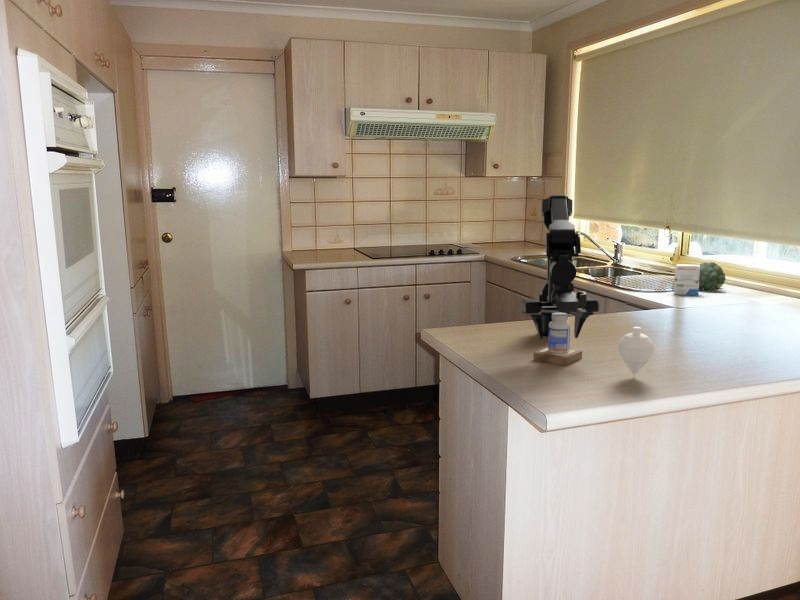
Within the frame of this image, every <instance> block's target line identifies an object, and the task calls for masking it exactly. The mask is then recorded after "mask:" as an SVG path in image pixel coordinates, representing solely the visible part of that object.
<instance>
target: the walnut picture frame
mask: <svg viewBox="0 0 800 600" xmlns="http://www.w3.org/2000/svg"><path fill="white" fill-rule="evenodd" d="M533 359H534V360H533ZM533 359H532V360H533V361H537V360H539V361H538V362H542V361H544V362H543V363H547V362H548V364H552V363H553V364H552V365H558V366H564V367H567V366H569V365H571V364H573V363H575V362H577V361H579V360H581V359H583V350H580V349H575V348H569V351H568V352H566V353H553V352H550V351H549V350H548V345H547V346H546V347H543V348H540V349H538V350H535V351H533Z"/></svg>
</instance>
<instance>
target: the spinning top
mask: <svg viewBox="0 0 800 600" xmlns="http://www.w3.org/2000/svg"><path fill="white" fill-rule="evenodd" d="M617 347H618V353H619V355H620V357H621V358H622V361H623V362H624V363H625V365H626V368H628V369H629V371H630V372H631V373H632V375H633V379H635V378H636V374H638V373H639V372H640V371H641V370H642V369H643V368H644V367H645V366H646V364H647V363H648V362H649V361H650V359H651V358H652V356H653V354H654V350H655V348H654V347H655V345H654V343H653V341H652V339H651V338H650V337H649V336H648V335H646V334H644V333H643V332H642V327H640V326H633V327H632V332H628V333H626V334H625V335H624V336H622V338H621V339H620V340H619V342H618V346H617Z"/></svg>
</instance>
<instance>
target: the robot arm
mask: <svg viewBox="0 0 800 600" xmlns="http://www.w3.org/2000/svg"><path fill="white" fill-rule="evenodd" d="M572 214H573V200H572V199H571V198H569V195H567V194H552V195H548V197H547V198H545V199H542V200H541V204H540V217H542V218H543V219H542V221H543V223H544V226H545V227H546V229H547V230H548V231H547V232H546V233H545V257H546V258H547V263H546V264H547V265H546V280H545V282H544V283H543V284H542V286H541V288H540V290H541V291H540V294H538V299H537V298H523V299H522V300H521V302H520V310H521V311H522V312H523V313H524V314H527V315H528V316H529V317H531V319H532V321H533V324H534V327H535V329H536V332H537V336H538V337H539V339H540V340H542V339H543V336H547V337H548V328H549V323H550V322H551V321H552V318H551V317H552V313H566V314H568V315H570V313H573V314H574V328H573V330H574V332H573V333H574V338H575V339H577V338H578V337H579V335H580V333H581V330H582V328H583V325H584V323H585V322H586V321H587V319H588V318H589V317H590V316H592V315H594V314H595V313H596V312H597V313H598V312H599V311H600V303H599V301H598V300H597V299H595V298H594V297H591V296H587V292H586V291H577V292H575V289H574V283H573V281H574V280H575V279H576V278H577V277H576V276H577V269H576V266H575V265H574V263H573V262H574V260H573V258H579V256H580V254H581V252H582V248H581V246H582V245H581V237H580V235H579V233H578V232H576V227H575V225H574V224H573V223H571V222H570V217H571V216H572Z"/></svg>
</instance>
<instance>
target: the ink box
mask: <svg viewBox="0 0 800 600" xmlns="http://www.w3.org/2000/svg"><path fill="white" fill-rule="evenodd" d="M700 265H701V264H684V263H682V264H680V263H677V264H676V265H675V268H674V270H675V271H674V289H673V290H674V291H673V294H674V295H679V296H693V297H694V296H695V297H697V296H698V295H699V276H700Z"/></svg>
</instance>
